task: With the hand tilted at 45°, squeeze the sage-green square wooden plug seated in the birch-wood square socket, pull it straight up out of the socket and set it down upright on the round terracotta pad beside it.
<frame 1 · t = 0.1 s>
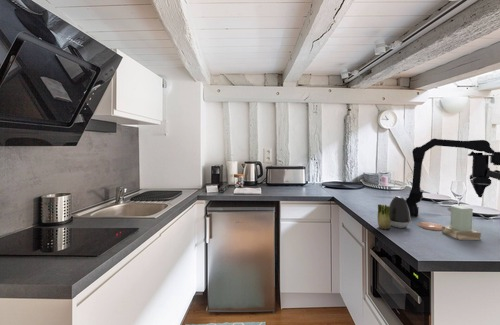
hand: (479, 195, 117), 15 cm above the countertop, tool pointing down, fingers open, 9 cm apart
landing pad: (431, 226, 115), on the countertop
grey smart speaker: (398, 226, 117), on the countertop
square plug: (461, 221, 103), in the square socket
green drip glaze vase: (383, 229, 114), on the countertop
square socket: (460, 235, 104), on the countertop
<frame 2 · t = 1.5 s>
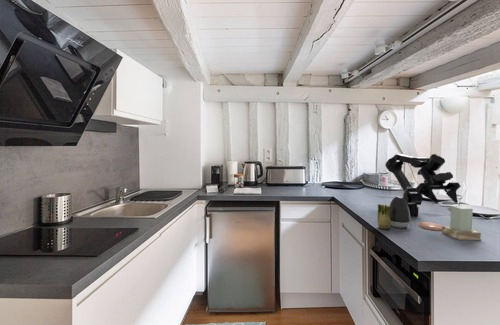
hand: (447, 202, 111), 13 cm above the countertop, tool tilted 45°, fingers open, 9 cm apart
nothing on the countertop moved.
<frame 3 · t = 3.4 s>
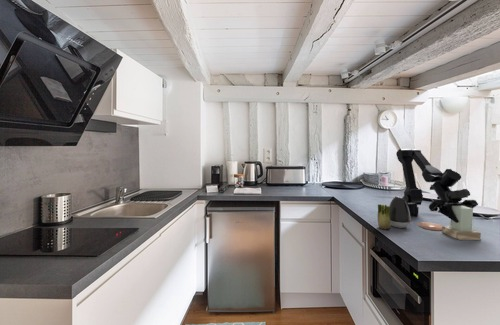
hand: (463, 222, 102), 7 cm above the countertop, tool tilted 45°, fingers closed on square plug, 5 cm apart
square plug: (461, 221, 103), in the square socket, touching gripper
everything else where it was.
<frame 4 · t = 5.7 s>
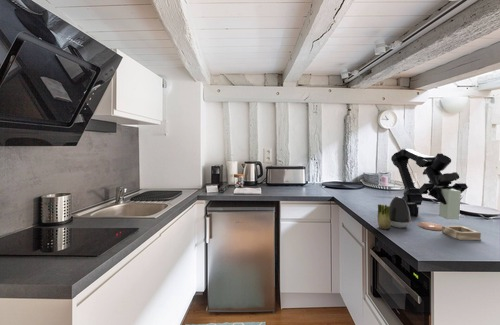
hand: (451, 204, 106), 14 cm above the countertop, tool tilted 45°, fingers closed on square plug, 5 cm apart
square plug: (449, 203, 107), point 14 cm above the countertop, touching gripper
everything else where it was.
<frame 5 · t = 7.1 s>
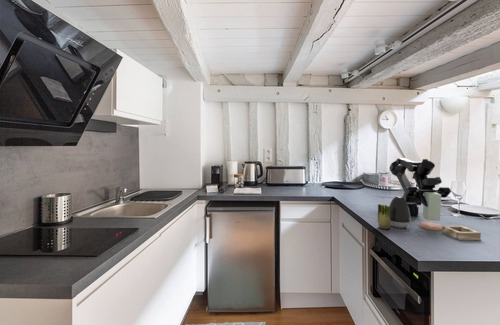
hand: (433, 206, 113), 11 cm above the countertop, tool tilted 45°, fingers closed on square plug, 5 cm apart
square plug: (431, 206, 115), point 10 cm above the countertop, touching gripper
everything else where it was.
when the fingers open (8 cm above the countertop, at t = 8.0 s): square plug stays where it is, resting on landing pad.
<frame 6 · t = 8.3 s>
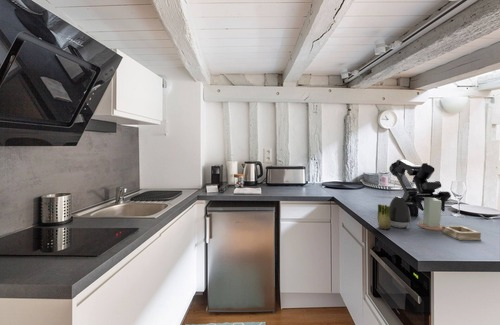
hand: (433, 210, 113), 9 cm above the countertop, tool tilted 45°, fingers open, 9 cm apart
square plug: (431, 212, 115), on the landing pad, point 7 cm above the countertop
everything else where it was.
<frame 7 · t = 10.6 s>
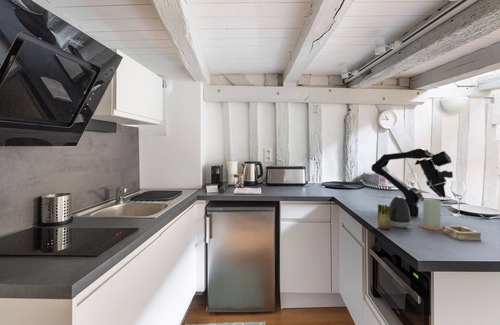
hand: (442, 197, 124), 13 cm above the countertop, tool tilted 25°, fingers open, 9 cm apart
nothing on the countertop moved.
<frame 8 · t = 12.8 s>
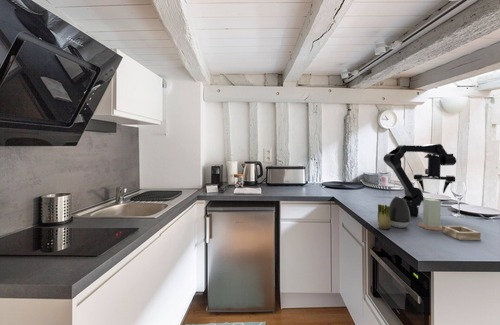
hand: (433, 192, 135), 13 cm above the countertop, tool pointing down, fingers open, 9 cm apart
nothing on the countertop moved.
at the end: square plug 0.1 cm off-centre on the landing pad, point 7.3 cm above the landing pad's base; square plug tilted 0°; the gripper is holding nothing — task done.
